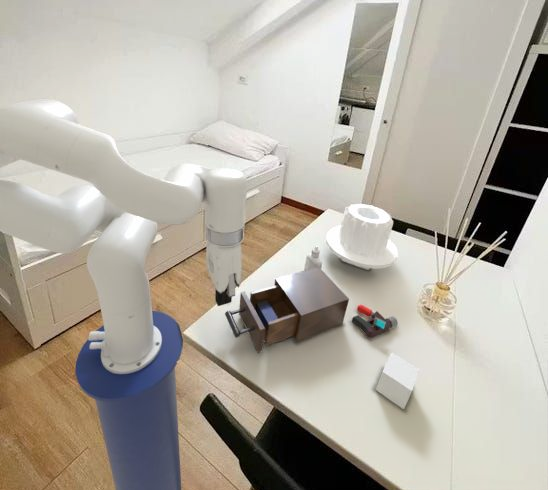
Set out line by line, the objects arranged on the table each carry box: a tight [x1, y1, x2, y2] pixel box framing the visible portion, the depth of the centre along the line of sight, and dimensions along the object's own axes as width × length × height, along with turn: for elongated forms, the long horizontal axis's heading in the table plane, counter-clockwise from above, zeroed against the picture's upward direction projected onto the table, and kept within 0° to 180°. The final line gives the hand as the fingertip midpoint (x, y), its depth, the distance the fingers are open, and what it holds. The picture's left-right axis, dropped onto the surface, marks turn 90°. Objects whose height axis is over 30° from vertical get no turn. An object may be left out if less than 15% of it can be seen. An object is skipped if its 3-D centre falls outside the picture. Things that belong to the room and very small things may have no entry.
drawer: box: [224, 285, 299, 353], centre depth 73 cm, size 18×12×7 cm
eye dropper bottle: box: [303, 245, 323, 271], centre depth 93 cm, size 4×6×12 cm
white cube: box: [375, 351, 420, 410], centre depth 63 cm, size 6×6×6 cm
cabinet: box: [273, 267, 350, 343], centre depth 79 cm, size 15×14×9 cm
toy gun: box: [351, 304, 399, 339], centre depth 80 cm, size 10×12×5 cm
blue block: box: [256, 300, 278, 331], centre depth 74 cm, size 8×3×3 cm, turn 27°
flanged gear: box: [325, 203, 399, 271], centre depth 103 cm, size 25×25×19 cm
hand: (223, 301), depth 64 cm, fingers closed
